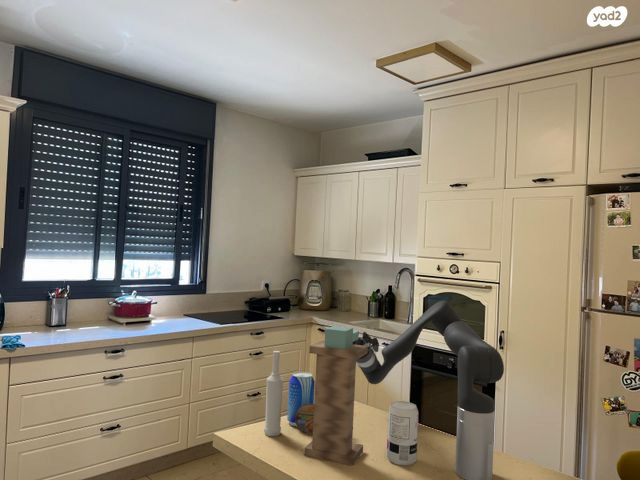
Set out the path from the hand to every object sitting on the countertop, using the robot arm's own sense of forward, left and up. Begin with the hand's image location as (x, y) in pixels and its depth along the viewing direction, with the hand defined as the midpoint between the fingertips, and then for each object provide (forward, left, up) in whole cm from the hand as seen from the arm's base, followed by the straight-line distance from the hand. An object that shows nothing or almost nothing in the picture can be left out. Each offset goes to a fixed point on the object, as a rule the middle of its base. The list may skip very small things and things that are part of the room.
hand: (350, 333), depth 141 cm
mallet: (0, +5, -2) cm, 5 cm away
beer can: (+18, -7, -32) cm, 38 cm away
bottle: (+22, +5, -32) cm, 40 cm away
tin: (+10, -3, -32) cm, 34 cm away
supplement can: (-18, +5, -32) cm, 38 cm away
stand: (0, +10, -32) cm, 34 cm away
